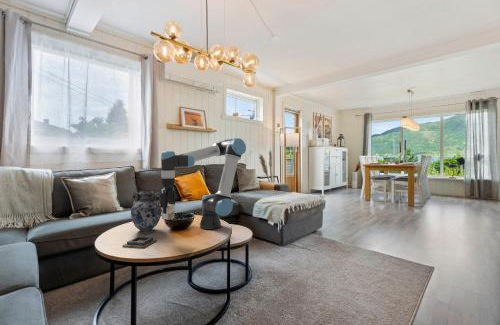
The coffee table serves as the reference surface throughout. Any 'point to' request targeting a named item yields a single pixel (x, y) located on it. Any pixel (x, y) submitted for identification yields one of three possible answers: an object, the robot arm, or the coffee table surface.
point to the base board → (140, 242)
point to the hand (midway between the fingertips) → (168, 217)
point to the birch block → (169, 211)
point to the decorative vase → (146, 211)
